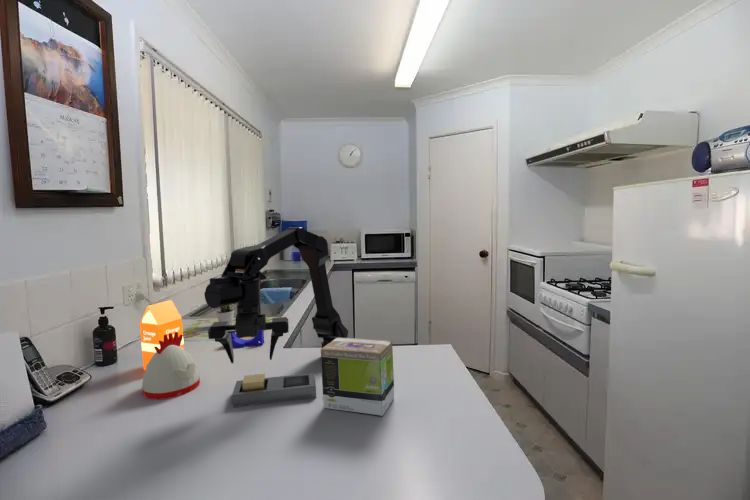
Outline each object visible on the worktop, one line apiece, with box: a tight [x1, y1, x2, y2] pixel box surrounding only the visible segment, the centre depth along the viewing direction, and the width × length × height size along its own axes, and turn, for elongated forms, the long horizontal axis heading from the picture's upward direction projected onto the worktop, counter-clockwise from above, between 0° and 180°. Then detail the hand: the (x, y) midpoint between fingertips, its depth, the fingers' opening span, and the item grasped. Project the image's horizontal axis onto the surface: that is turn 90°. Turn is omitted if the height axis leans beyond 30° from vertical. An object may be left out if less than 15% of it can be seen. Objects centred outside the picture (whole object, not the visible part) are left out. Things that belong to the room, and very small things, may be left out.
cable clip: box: [231, 330, 265, 349], centre depth 144 cm, size 12×4×6 cm, turn 93°
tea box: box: [320, 337, 395, 417], centre depth 97 cm, size 15×10×15 cm, turn 71°
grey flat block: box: [231, 372, 317, 408], centre depth 103 cm, size 20×8×3 cm, turn 101°
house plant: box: [216, 303, 237, 325], centre depth 170 cm, size 14×14×16 cm
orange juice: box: [139, 299, 185, 371], centre depth 125 cm, size 8×9×20 cm
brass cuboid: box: [242, 373, 266, 392], centre depth 102 cm, size 5×5×5 cm
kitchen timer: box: [141, 332, 201, 400], centre depth 109 cm, size 14×14×15 cm
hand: (251, 361), depth 101 cm, fingers open, 9 cm apart
